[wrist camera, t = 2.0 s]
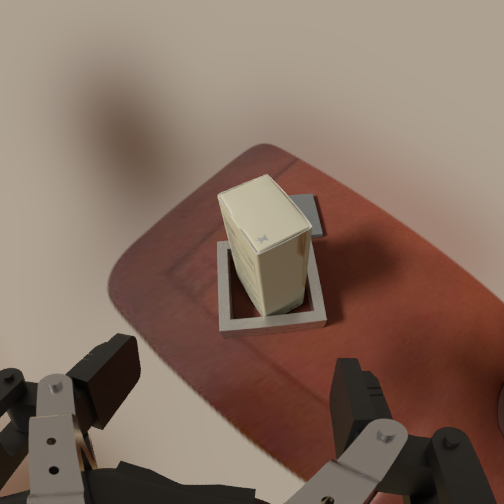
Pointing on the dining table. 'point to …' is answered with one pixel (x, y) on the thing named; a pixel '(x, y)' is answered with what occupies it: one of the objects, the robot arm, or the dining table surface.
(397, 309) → the dining table surface
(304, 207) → the pad
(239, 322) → the grey square frame
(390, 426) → the robot arm
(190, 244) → the dining table surface
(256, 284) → the skincare box
